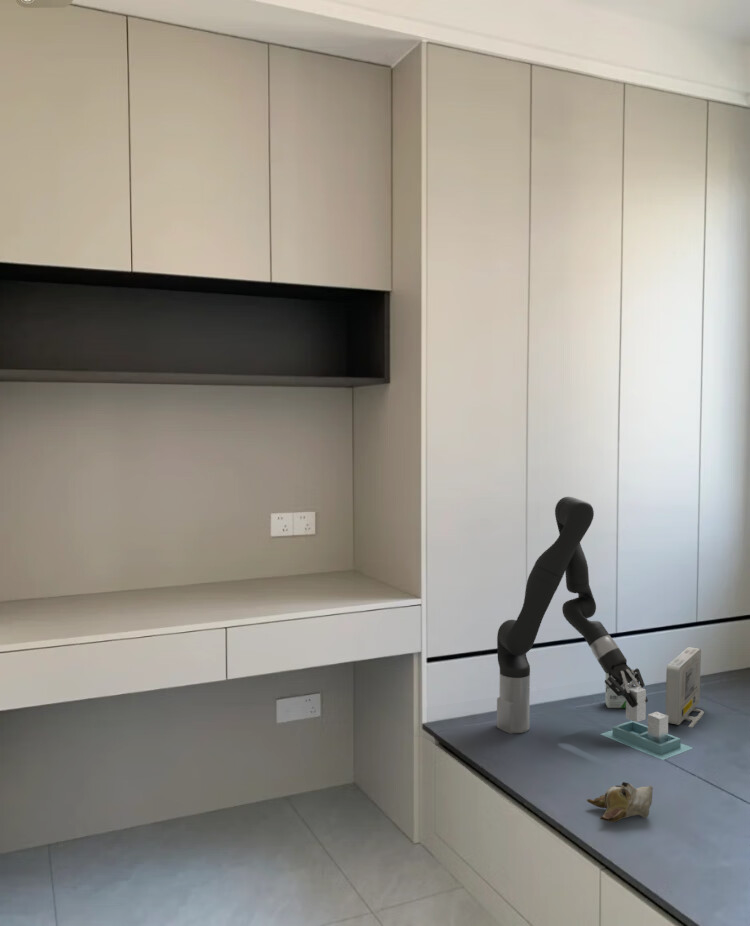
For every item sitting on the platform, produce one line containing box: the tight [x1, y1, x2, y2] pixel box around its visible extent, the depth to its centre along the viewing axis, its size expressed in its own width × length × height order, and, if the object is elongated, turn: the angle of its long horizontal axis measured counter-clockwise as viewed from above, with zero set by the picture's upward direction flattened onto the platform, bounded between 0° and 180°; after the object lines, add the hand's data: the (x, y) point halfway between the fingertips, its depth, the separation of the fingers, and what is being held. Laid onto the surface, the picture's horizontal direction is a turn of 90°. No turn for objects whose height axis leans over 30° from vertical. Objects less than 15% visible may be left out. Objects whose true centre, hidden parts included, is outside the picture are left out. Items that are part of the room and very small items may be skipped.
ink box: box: [604, 673, 633, 709], centre depth 277 cm, size 9×5×12 cm, turn 84°
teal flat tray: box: [600, 720, 694, 761], centre depth 245 cm, size 14×22×4 cm, turn 35°
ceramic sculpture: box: [586, 781, 654, 823], centre depth 203 cm, size 11×9×15 cm
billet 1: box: [625, 685, 647, 723], centre depth 247 cm, size 4×4×9 cm
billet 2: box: [647, 711, 669, 744], centre depth 241 cm, size 4×4×9 cm
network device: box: [665, 646, 705, 728], centre depth 266 cm, size 26×9×20 cm, turn 145°
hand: (640, 704), depth 246 cm, fingers closed on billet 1, 4 cm apart
